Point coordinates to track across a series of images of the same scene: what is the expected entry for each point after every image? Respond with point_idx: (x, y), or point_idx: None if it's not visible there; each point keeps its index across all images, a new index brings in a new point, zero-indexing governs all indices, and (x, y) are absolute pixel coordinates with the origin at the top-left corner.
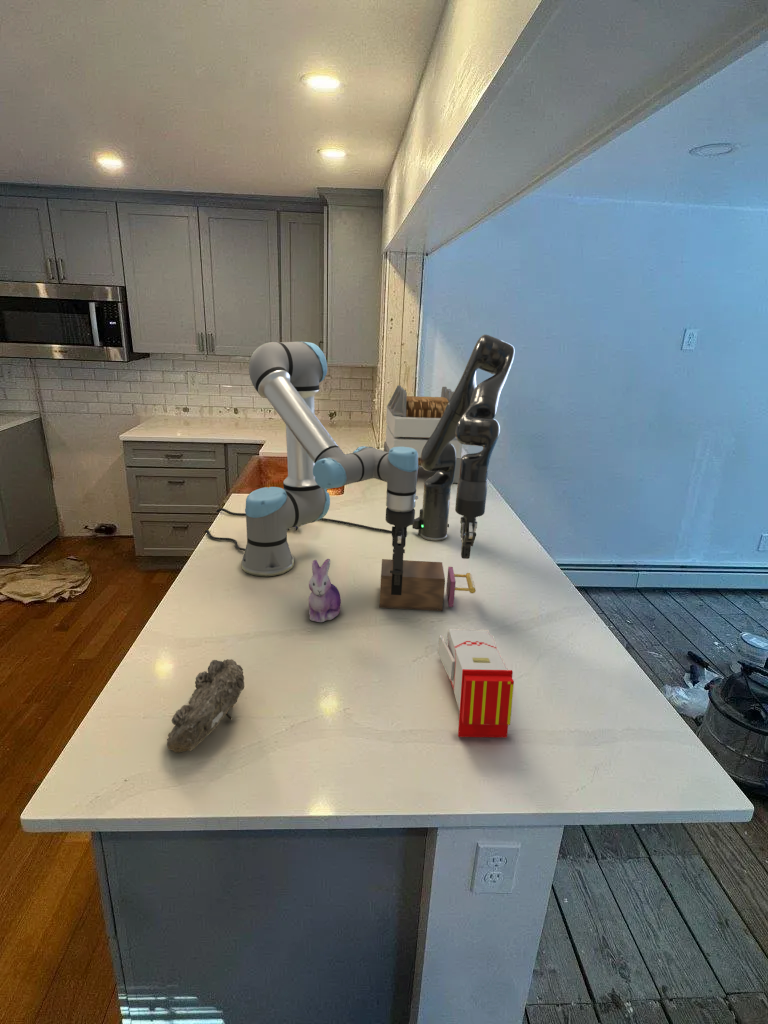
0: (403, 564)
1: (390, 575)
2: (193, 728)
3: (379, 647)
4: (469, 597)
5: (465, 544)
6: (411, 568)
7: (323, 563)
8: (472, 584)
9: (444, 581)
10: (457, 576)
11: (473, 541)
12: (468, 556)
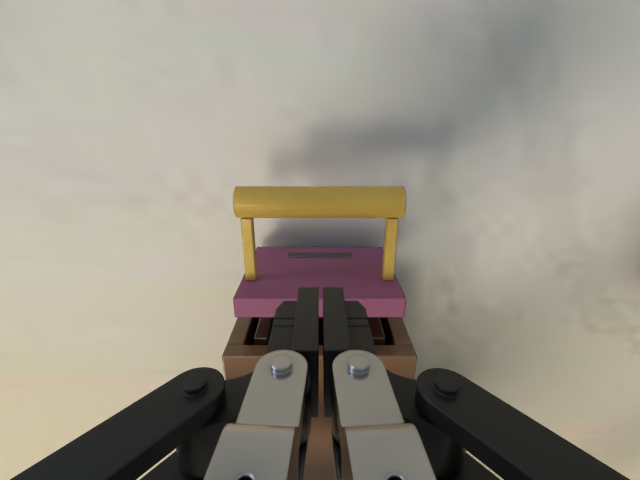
0: None
1: None
2: None
3: (570, 427)
4: (273, 171)
5: (476, 461)
6: (319, 471)
7: None
8: (369, 203)
9: (413, 348)
10: (255, 254)
11: (589, 463)
12: (364, 308)
